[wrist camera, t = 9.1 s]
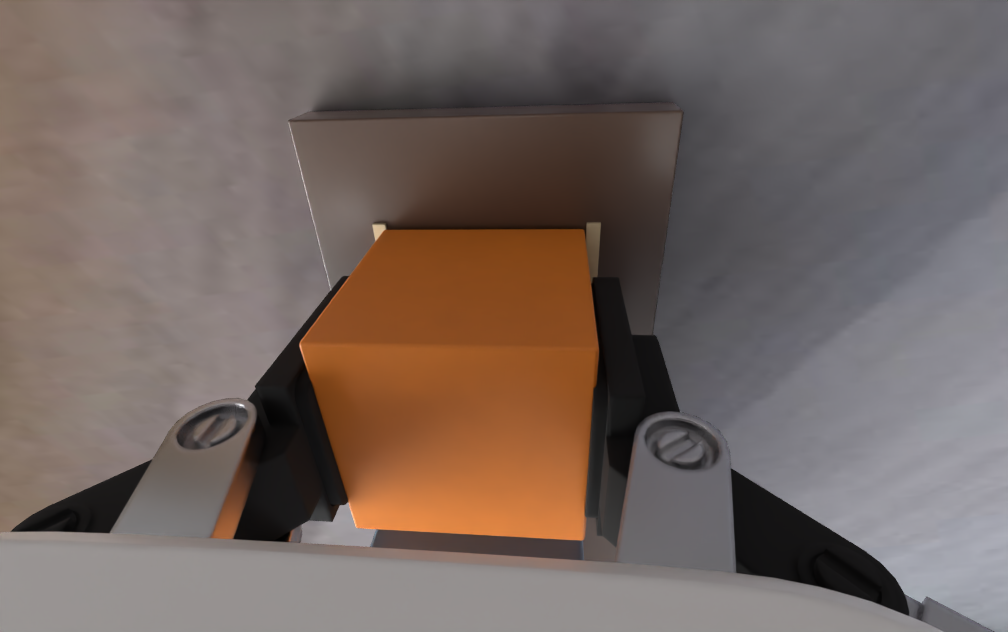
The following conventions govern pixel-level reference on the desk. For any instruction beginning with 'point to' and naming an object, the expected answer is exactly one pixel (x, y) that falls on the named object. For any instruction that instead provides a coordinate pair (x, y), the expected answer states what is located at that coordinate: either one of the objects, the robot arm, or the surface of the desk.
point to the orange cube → (462, 382)
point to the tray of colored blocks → (499, 211)
